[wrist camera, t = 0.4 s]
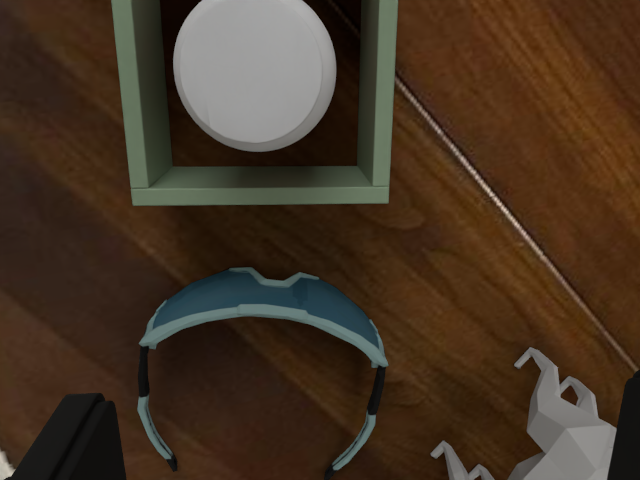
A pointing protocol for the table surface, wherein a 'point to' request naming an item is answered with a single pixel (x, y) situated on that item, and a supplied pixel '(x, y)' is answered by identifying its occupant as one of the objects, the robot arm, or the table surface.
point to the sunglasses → (272, 302)
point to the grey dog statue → (553, 433)
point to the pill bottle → (254, 71)
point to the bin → (250, 181)
